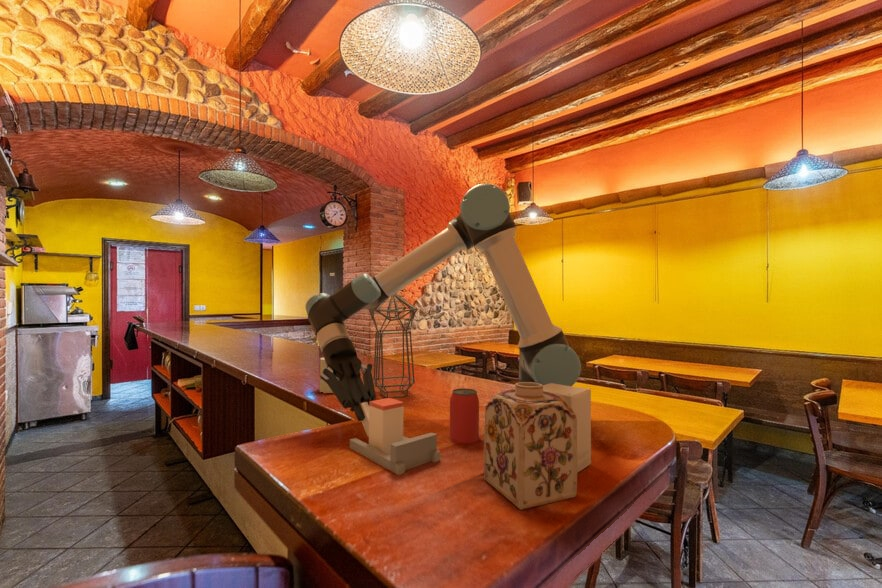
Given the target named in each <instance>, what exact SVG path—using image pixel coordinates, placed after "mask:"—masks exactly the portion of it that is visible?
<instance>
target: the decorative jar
mask: <svg viewBox="0 0 882 588" xmlns="http://www.w3.org/2000/svg"><path fill="white" fill-rule="evenodd" d="M514 385H515V386H514V387H515V388H514V389H505V390H504V389H503V390H502V391H500V392H498V393H496V395H494V396H493V397H492V398H491V399H489V401H487V404H486V405H485V407H484V425H483V426H484V434H483V435H484V436H483V438H484V439H483V475H484V476H483V477H484V478H483V479H484V480H485V482H487V483H488V484H489V485H490V486H492V487H493V488H494V489H495V490H496V491H498V492H499V493H500V494H501V495H502V496H504V498H506V499H507V500H508V501H509V502H511V504H513V505H514V506H516V508H517V509H519V510H526V509H530V508H535V507H539V506H543V505H548V504H551V503H555V502H560V501H565V500H568V499H573V498H575V497H576V496H577V493H578V492H577V489H578V473H577V416H576V414H575V413H574V411H573V410H572V408H571V407H570V406H569V405H568V403H567V402H566V400H565V399H564V398H563V397H562V396H559V395H556V394H554V393H550V392H545V391H543V385H542V384H539V383H534V382H519V381H518V382H515V384H514Z"/></svg>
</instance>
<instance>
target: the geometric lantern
mask: <svg viewBox="0 0 882 588" xmlns="http://www.w3.org/2000/svg"><path fill="white" fill-rule="evenodd" d="M397 300H398V302H400V304H401V305H402V307H398V303H397ZM387 301H388V299H386V300H385V301H383V302H382V303H381V304H380V305H379V306H378V307H376V308H375V309H372V310H368V312H369V315H370V317H371V320H372V321H373V324H374V327H375V329H376V330H375V331H374V332H375V335H374V337H375V339H374V341H375V342H374V358H373V359H374V360H373V363H374V364H373V376H372V378H373V383H374V388H377V389H378V390H379V393H380V395H381V394H382V395H383V396H382V395H381V396H382V397H383V398H384V397H389V395H388V394H389V393H396V392H400V391H404V392H405V393H406V394H405V393H404V392H403V393H404V394H405V396H407V397H408V396H409V389H410V388H411V387H412V386H413V385H414V384H415V383H416V380H415V368H414V367H415V366H414V356H413V354H414V353H413V341H412V325H413V321H414V319H415V316H416V313H417V311H419V310H420V309H419V308H418V307H416V306H415V305H414V304H412V303H410V302H409V301H408V300H406V299H405V298H403V297H402V296H400V295H399V294H397V292H396V293H395V294H393V295H392V296H390V299H389V302H388V306H387V308H385V309H384V308H381V307H382V306H383V305H384V304H385V303H386V302H387ZM392 304H394V308H395V309H394V308H393V309H392ZM375 312H376V313H378V314H380V315H381V316H383V318H384V320H383V322H382V324H381V327H380V329H378V326H377V322H376V319H375ZM382 312H383V313H382ZM385 312H386V314H384V313H385ZM405 312H406V313H405ZM393 313H394V316H391V314H393ZM401 313H405V314H403V315H401ZM400 315H401V316H400ZM407 315H410V317H409V321H408V323H407V326H406V327H405V325H404V324H403V322H402V320H401V319H403V318H404V317H406V316H407ZM387 320H388V322H387ZM394 321H397V323H398V324H399V325H400V327H401V329H387V327H388V325H389V324H390V323H391V322H394ZM386 322H387V324H386V325H385V323H386ZM384 325H385V327H384ZM409 326H410V329H409ZM383 327H384V328H383ZM408 329H409V330H408ZM395 331H396V332H395ZM397 331H400V332H397ZM396 334H397V335H400V334H401V335H402V375H400V376H399V375H398V376H386V377H385V376H384V355H383V354H384V351H383V335H396ZM408 334H409V337H408ZM405 346H406V347H405ZM409 346H410V351H409ZM405 348H406V362H407V373H408V376H406V375H405ZM410 356H411V357H410ZM410 358H411V359H410ZM410 360H411V362H410ZM410 363H411V365H410ZM380 369H381V374H380ZM411 372H412V377H411ZM380 375H381V376H380ZM404 378H405V379H407V380H406V381H405V382H404V383H403V380H404ZM389 379H390V380H391V379H401V382H400V384H386V385H385V383H384V380H389ZM407 382H408V383H407ZM391 387H392V388H393V387H399V390H387V389H386V388H391ZM401 388H402V390H401ZM385 391H386V392H385ZM381 392H384V393H381ZM401 396H402V395H397V396H395V395H394V396H392V397H394V398H402V397H401Z"/></svg>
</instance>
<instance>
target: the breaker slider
mask: <svg viewBox="0 0 882 588" xmlns="http://www.w3.org/2000/svg"><path fill="white" fill-rule="evenodd" d="M404 403H405V402H404V401H401V400H398V399H395V398H381V399H376V400H375V399H374V400H373V401H369V436H368V444H369V445H370V446H372V447H374V448H376V449H378V450H380V451H382V452H384V453H386V454H388V455H390V450H391V444H393V443H396V442H400V441H403V436H404V415H405V414H404V411H405V410H404V406H405V405H404Z"/></svg>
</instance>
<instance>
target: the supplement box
mask: <svg viewBox="0 0 882 588" xmlns="http://www.w3.org/2000/svg"><path fill="white" fill-rule="evenodd" d="M543 391H545V392H550V393H554V394H556V395H559V396H562V397H563V398H564V399H565V400H566V402H567V403H568V405H569V406H570V407H571V408H572V410H573V411H574V413H575V414H576V416H577V474H578V473H579V472H581V471H582V470H584V469H585V468H587V467H588V466H590V465H591V464H592V438H591V437H592V422H591V421H592V417H591V416H592V412H591V411H592V404H591V403H592V395H591V394H592V392H591V391H592V390H591V389H589V388H584V387H578V386H566V385H560V384H554V383H550V384H546V385H543Z"/></svg>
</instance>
